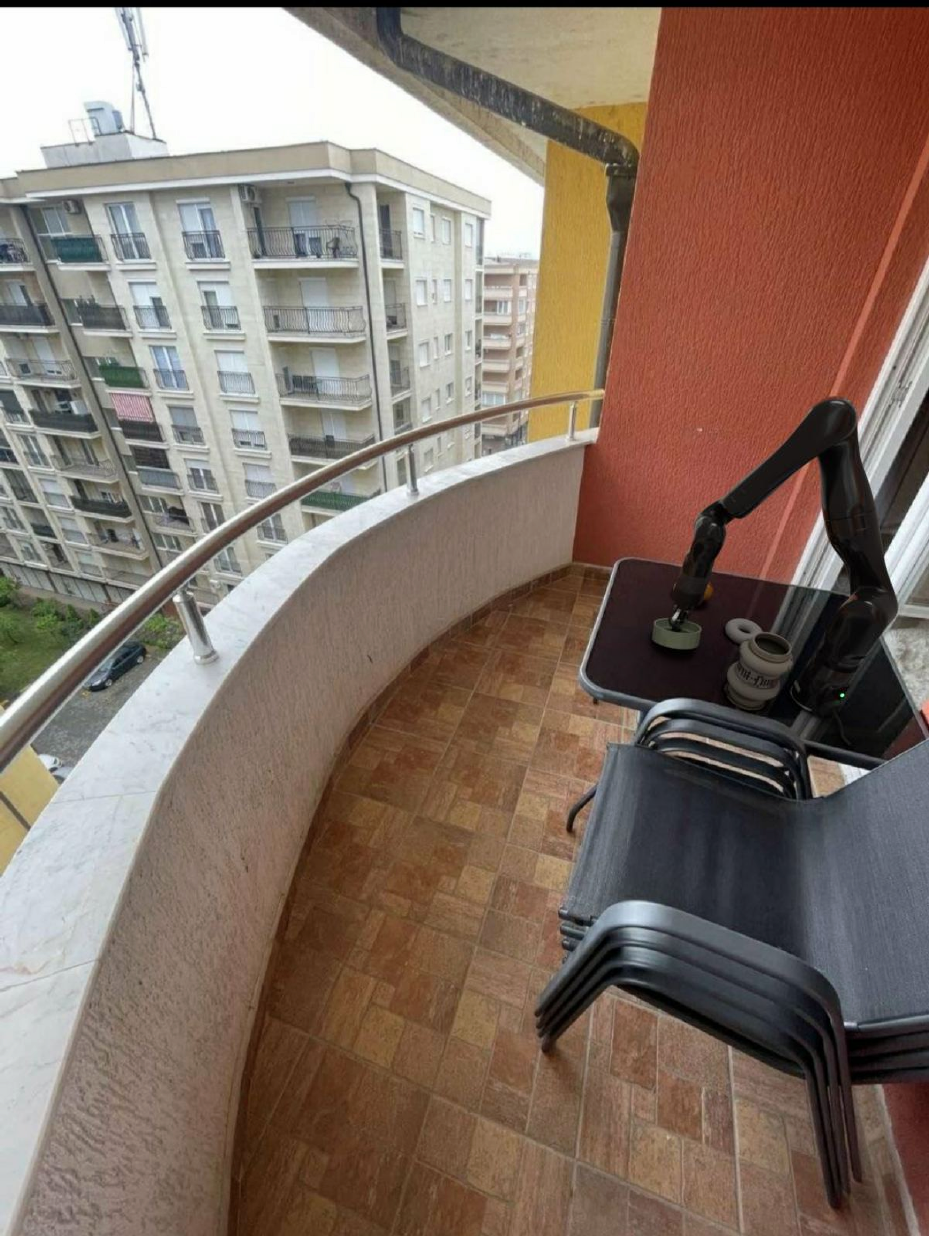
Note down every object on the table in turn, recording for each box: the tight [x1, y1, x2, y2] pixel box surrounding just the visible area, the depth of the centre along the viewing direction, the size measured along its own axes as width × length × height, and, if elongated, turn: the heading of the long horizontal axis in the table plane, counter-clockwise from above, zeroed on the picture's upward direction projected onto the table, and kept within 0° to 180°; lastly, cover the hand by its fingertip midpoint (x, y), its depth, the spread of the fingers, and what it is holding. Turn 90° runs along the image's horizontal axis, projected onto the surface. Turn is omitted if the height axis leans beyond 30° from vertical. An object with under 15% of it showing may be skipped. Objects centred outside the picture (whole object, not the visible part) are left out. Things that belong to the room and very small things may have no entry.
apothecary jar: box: [723, 631, 794, 711], centre depth 133 cm, size 12×12×18 cm
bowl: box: [651, 617, 703, 650], centre depth 150 cm, size 12×12×5 cm
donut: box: [724, 617, 764, 645], centre depth 155 cm, size 10×4×10 cm
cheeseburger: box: [672, 580, 714, 603], centre depth 166 cm, size 10×11×10 cm
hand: (674, 635), depth 153 cm, fingers closed
